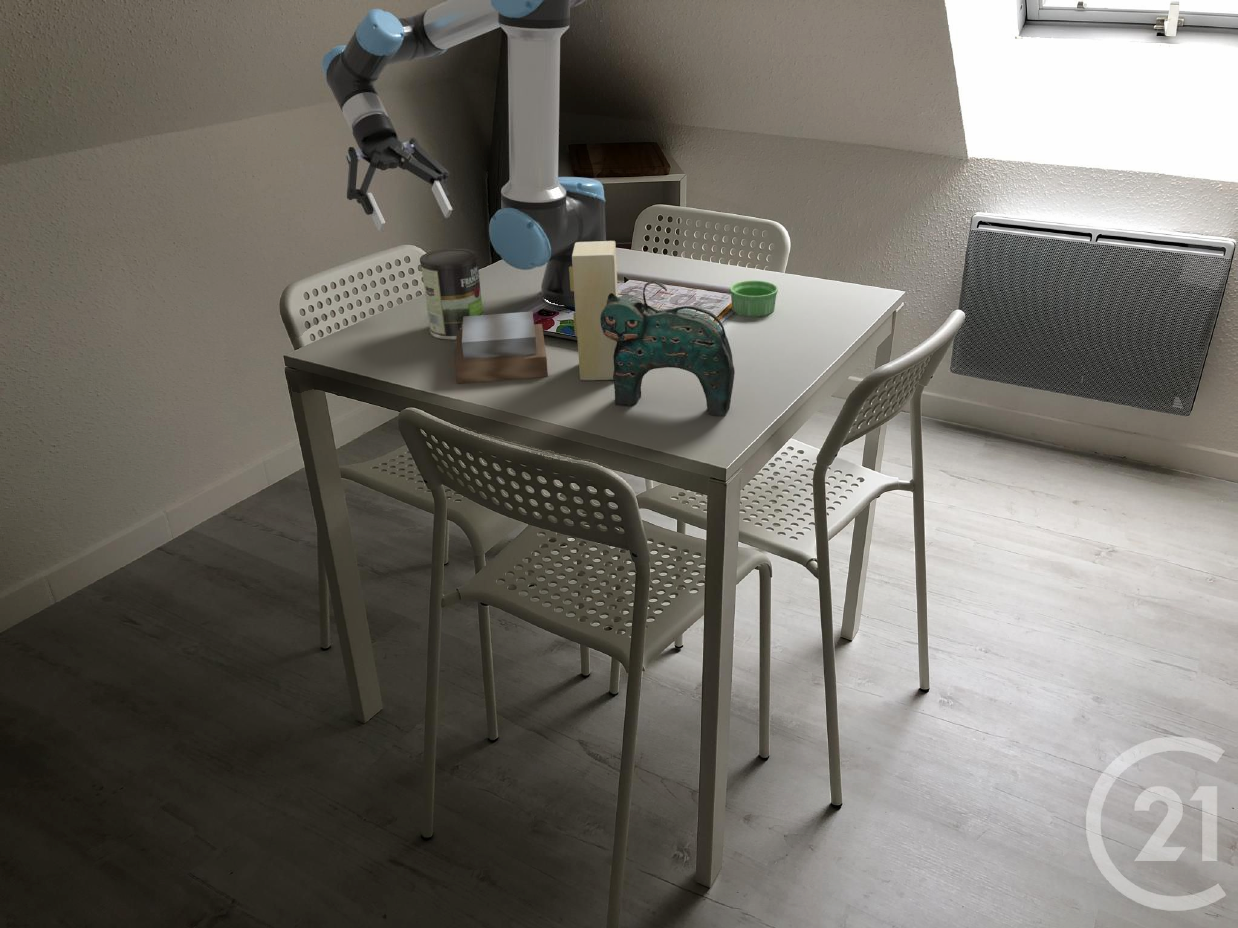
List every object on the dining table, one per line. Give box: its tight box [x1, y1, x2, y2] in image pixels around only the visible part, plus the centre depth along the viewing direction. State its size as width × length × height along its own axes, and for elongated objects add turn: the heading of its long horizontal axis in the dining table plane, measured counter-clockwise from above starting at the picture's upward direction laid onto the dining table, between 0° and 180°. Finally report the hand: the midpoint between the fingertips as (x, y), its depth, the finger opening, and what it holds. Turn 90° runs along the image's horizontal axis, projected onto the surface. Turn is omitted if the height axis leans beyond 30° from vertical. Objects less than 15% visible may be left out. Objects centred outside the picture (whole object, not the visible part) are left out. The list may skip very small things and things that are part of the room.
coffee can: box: [419, 247, 484, 341], centre depth 178 cm, size 10×10×14 cm
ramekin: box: [729, 280, 779, 318], centre depth 184 cm, size 9×9×4 cm
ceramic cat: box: [600, 280, 736, 417], centre depth 145 cm, size 20×6×20 cm, turn 71°
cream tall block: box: [569, 240, 619, 381], centre depth 157 cm, size 8×7×21 cm
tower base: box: [454, 311, 549, 384], centre depth 165 cm, size 15×15×6 cm
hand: (416, 220), depth 180 cm, fingers open, 13 cm apart
